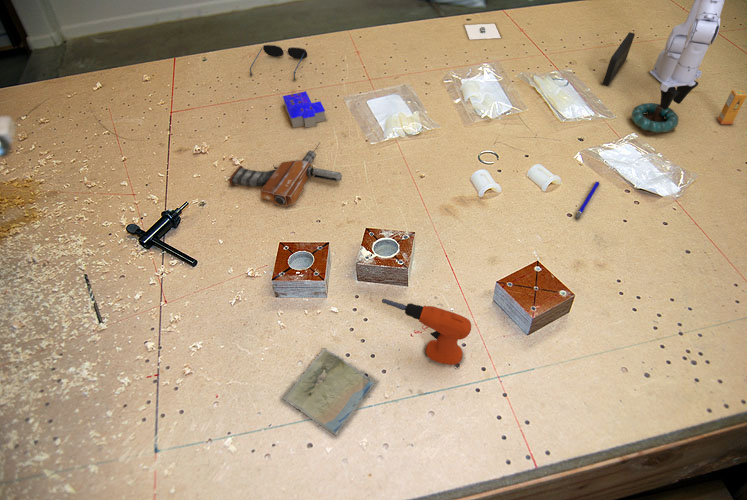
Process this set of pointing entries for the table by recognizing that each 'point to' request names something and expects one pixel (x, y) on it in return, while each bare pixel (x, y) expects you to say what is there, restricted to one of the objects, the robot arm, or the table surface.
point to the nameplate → (618, 58)
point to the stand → (656, 118)
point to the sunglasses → (278, 52)
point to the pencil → (587, 200)
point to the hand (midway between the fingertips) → (669, 105)
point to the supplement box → (732, 106)
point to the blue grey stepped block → (303, 110)
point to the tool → (283, 179)
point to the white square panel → (482, 31)
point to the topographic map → (329, 391)
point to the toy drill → (439, 330)
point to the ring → (652, 125)
